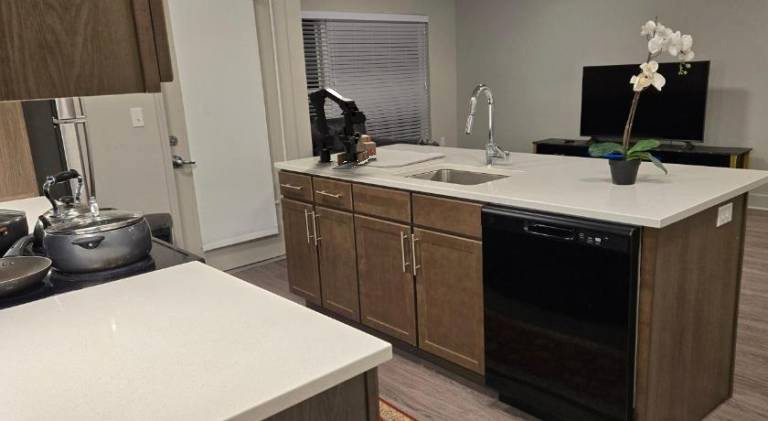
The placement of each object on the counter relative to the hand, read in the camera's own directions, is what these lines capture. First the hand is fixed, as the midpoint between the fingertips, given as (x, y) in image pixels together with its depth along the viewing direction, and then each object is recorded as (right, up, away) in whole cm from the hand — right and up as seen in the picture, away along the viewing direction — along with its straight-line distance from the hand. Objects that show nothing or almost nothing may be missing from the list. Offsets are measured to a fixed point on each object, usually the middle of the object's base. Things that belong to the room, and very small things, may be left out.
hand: (351, 152), depth 313 cm
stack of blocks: (+8, 0, +26) cm, 27 cm away
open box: (+1, -6, +4) cm, 7 cm away
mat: (-3, -9, -7) cm, 12 cm away
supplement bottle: (0, -5, +1) cm, 5 cm away
